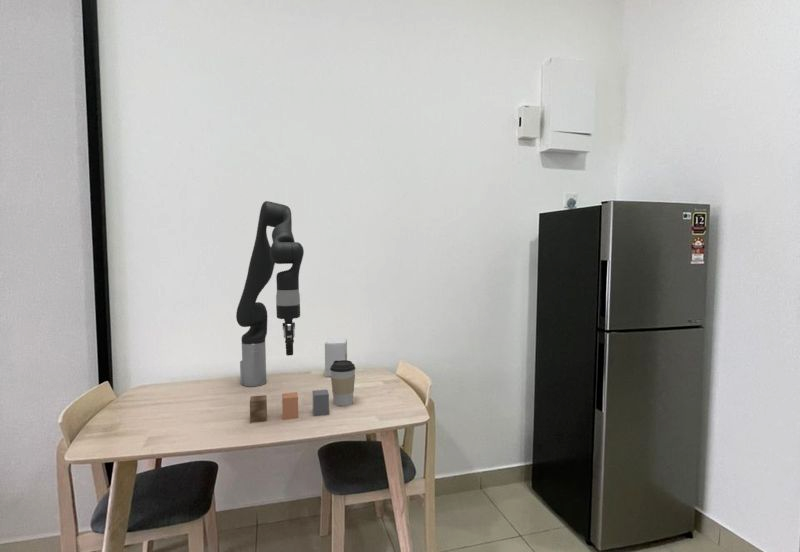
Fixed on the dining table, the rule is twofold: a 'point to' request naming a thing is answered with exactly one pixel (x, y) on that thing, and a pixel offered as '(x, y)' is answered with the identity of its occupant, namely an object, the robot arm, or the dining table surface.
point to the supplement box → (334, 353)
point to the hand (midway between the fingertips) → (289, 352)
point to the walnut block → (258, 408)
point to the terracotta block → (290, 405)
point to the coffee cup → (342, 382)
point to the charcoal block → (320, 402)
